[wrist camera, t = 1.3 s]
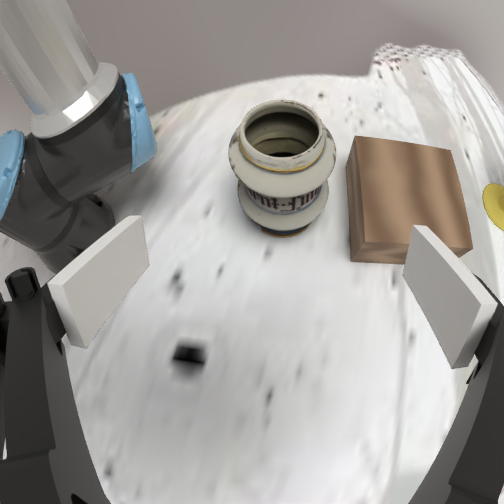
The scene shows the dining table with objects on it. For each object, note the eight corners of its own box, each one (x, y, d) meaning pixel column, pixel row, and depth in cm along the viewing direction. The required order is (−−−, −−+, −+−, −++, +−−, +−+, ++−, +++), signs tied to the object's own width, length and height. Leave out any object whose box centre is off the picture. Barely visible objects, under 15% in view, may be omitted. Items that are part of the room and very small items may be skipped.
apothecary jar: (225, 209, 46) (198, 130, 29) (279, 160, 48) (277, 74, 31) (285, 262, 43) (289, 199, 26) (338, 205, 45) (366, 125, 28)
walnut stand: (350, 261, 42) (365, 241, 34) (345, 166, 47) (354, 135, 40) (446, 265, 40) (472, 248, 33) (431, 176, 45) (450, 150, 38)
